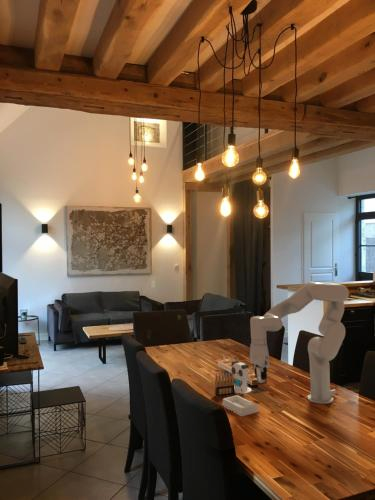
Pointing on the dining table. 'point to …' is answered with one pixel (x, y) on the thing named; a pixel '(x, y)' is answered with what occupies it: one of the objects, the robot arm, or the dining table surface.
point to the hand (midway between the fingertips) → (260, 377)
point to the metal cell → (259, 374)
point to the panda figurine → (240, 377)
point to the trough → (240, 405)
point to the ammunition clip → (224, 385)
